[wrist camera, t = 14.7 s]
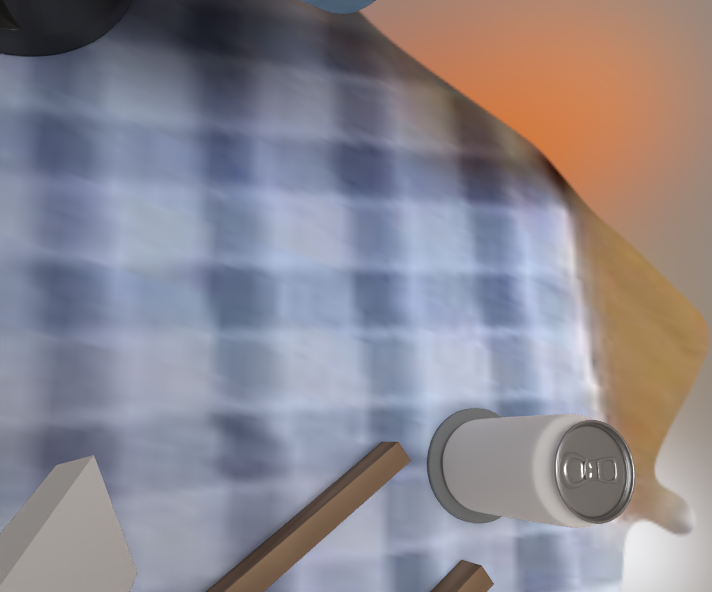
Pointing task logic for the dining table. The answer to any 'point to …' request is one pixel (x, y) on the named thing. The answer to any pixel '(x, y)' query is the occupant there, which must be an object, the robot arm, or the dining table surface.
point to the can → (541, 469)
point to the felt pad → (437, 465)
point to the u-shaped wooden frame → (324, 514)
